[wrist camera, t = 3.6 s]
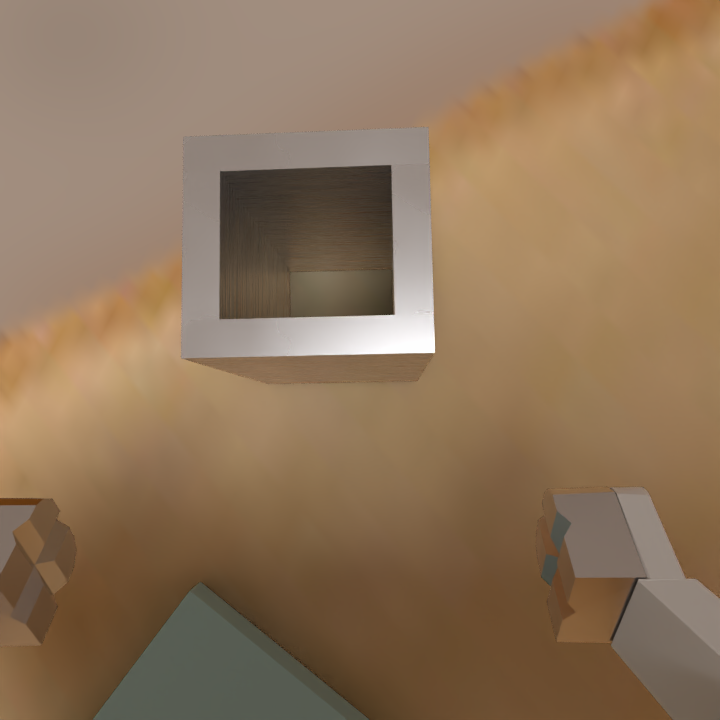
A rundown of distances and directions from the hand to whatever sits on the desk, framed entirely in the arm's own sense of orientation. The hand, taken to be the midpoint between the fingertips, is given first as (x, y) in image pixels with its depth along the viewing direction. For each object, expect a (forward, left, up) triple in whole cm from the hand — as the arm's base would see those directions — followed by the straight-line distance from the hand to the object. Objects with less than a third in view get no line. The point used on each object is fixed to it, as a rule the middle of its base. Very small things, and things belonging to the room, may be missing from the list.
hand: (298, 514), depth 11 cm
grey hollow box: (-4, -3, -9) cm, 10 cm away
